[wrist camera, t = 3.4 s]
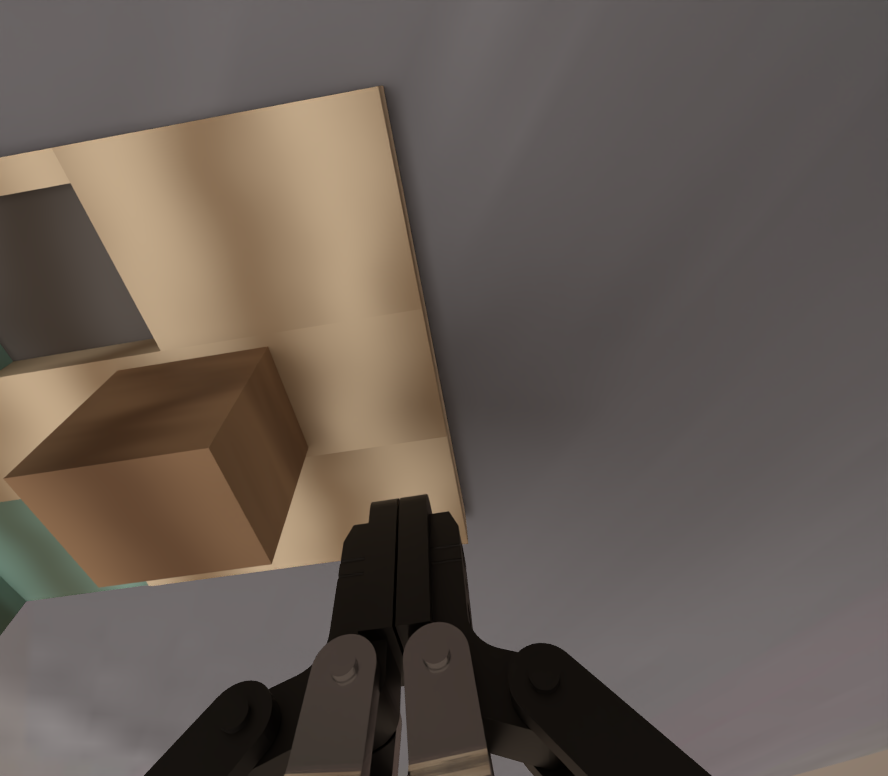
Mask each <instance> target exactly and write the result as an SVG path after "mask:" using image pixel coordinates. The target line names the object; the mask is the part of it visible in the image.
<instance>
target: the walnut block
mask: <svg viewBox="0 0 888 776" xmlns="http://www.w3.org/2000/svg"><path fill="white" fill-rule="evenodd" d="M307 451H308V445H307V443H306V440H305V438H304V435H303V433H302V430H301V428H300V425H299V423H298V420H297V418H296V415H295V413H294V410H293V408H292V405H291V403H290V400H289V398H288V395H287V393H286V390H285V388H284V385H283V383H282V380H281V378H280V375H279V373H278V370H277V368H276V365H275V363H274V360H273V358H272V355H271V352H270V350H269V347H268V346H267V347H261V348H255V349H249V350H242V351H236V352H230V353H224V354H218V355H211V356H205V357H199V358H193V359H186V360H180V361H174V362H168V363H161V364H155V365H149V366H143V367H137V368H130V369H124V370H118V371H116V372H115V373H114V374H113V375H112V376H111V377H110V378H109V379H108V380H107V381H106V382H105V383H104V384H103V385H102V386H101V387H99V388H98V389H97V390H96V391H95V392H94V393H93V394H92V395H91V396H90V397H89V398H88V399H87V400H86V401H85V402H84V403H83V404H81V405H80V406H79V407H78V408H77V409H76V410H75V411H74V412H73V413H72V414H71V415H70V416H69V417H68V418H67V419H66V420H65V421H64V422H62V423H61V424H60V425H59V426H58V427H57V428H56V429H55V430H54V431H53V432H52V433H51V434H50V435H49V436H48V437H47V438H46V439H45V440H43V441H42V442H41V443H40V444H39V445H38V446H37V447H36V448H35V449H34V450H33V451H32V452H31V453H30V454H29V455H28V456H27V457H26V458H24V459H23V460H22V461H21V462H20V463H19V464H18V465H17V466H16V467H15V468H14V469H13V470H12V471H11V472H10V473H9V474H8V475H7V476H5V477H4V478H3V479H4V480H5V481H6V483H7V484H8V485H9V486H10V487H11V488H12V489H13V491H14V492H15V493H16V494H17V495H18V496H19V497H20V498H21V500H22V501H23V502H24V503H25V504H26V505H27V506H28V508H29V509H30V510H31V511H32V512H33V513H34V514H35V516H36V517H37V518H38V519H39V520H40V521H41V522H42V524H43V525H44V526H45V527H46V528H47V529H48V530H49V532H50V533H51V534H52V535H53V536H54V537H55V538H56V539H57V541H58V542H59V543H60V544H61V545H62V546H63V547H64V549H65V550H66V551H67V552H68V553H69V554H70V555H71V557H72V558H73V559H74V560H75V561H76V562H77V563H78V565H79V566H80V567H81V568H82V569H83V570H84V571H85V573H86V574H87V575H88V576H89V577H90V578H91V579H92V580H93V582H94V583H95V584H96V585H97V586H98V587H99V588H100V587H107V586H115V585H122V584H129V583H137V582H144V581H152V580H159V579H167V578H174V577H181V576H189V575H196V574H204V573H211V572H219V571H226V570H233V569H241V568H248V567H256V566H263V565H270V564H272V562H273V559H274V556H275V552H276V549H277V546H278V543H279V540H280V537H281V533H282V530H283V527H284V524H285V521H286V518H287V514H288V511H289V508H290V505H291V502H292V498H293V495H294V492H295V489H296V486H297V483H298V479H299V476H300V473H301V470H302V467H303V464H304V460H305V457H306V454H307Z"/></svg>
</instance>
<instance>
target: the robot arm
mask: <svg viewBox="0 0 888 776" xmlns="http://www.w3.org/2000/svg"><path fill="white" fill-rule="evenodd" d="M338 576H339V579H338V581H337V588H336V594H335V601H334V607H333V614H332V620H331V627H330V634H329V638H328V641H327V644H326V645H325V646H324V647H323V648H322V649H321V650H320V651H319V653H318V654H317V656H316V658H315V660H314V662H313V664H312V665H311V666H310V667H309V668H308V669H306V670H305V671H304V672H302V673H300V674H299V675H297V676H295V677H293V678H291V679H289V680H287V681H285V682H282V683H280V684H278V685H276V686H274V687H272V688H270V689H268V688H267V687H266V686H265V685H264V684H262V683H260V682H257V681H244V682H240V683H238V684H235V685H233V686H231V687H230V688H228V689H227V690H225V691H224V692H223V693H222V694H221V695H220V696H218V697H217V698H216V700H215V701H214V702H213V703H212V704H211V705H210V706H209V707H208V708H207V709H206V710H205V711H204V712H203V713H202V714H201V715H200V717H199V718H198V719H197V720H196V721H195V722H194V723H193V724H192V725H191V726H190V727H189V728H188V729H187V730H186V731H185V732H184V734H183V735H182V736H181V737H180V738H179V739H178V740H177V741H176V742H175V743H174V744H173V745H172V746H171V747H170V748H169V749H168V751H167V752H166V753H165V754H164V755H163V756H162V757H161V758H160V759H159V760H158V761H157V762H156V763H155V764H154V765H153V766H152V768H151V769H150V770H149V771H148V772H147V773H146V774H145V775H144V776H398V767H399V755H400V743H401V731H402V718H401V714H400V695H401V686H404V688H405V706H406V724H407V742H408V760H409V770H408V775H407V776H494V771H493V765H492V759H491V754H495V755H498V756H502V757H505V758H509V759H512V760H516V761H519V762H523V763H524V764H525V766H526V767H527V768H528V770H529V771H530V772H531V773H532V774H533V775H534V776H711V775H710V774H709V773H708V772H707V771H705V770H704V769H703V768H702V767H701V766H700V765H698V764H697V763H696V762H695V761H694V760H693V759H691V758H690V757H689V756H688V755H687V754H685V753H684V752H683V751H682V750H681V749H680V748H678V747H677V746H676V745H675V744H674V743H673V742H671V741H670V740H669V739H668V738H667V737H665V736H664V735H663V734H662V733H661V732H660V731H658V730H657V729H656V728H655V727H654V726H652V725H651V724H650V723H649V722H648V721H647V720H645V719H644V718H643V717H642V716H641V715H640V714H638V713H637V712H636V711H635V710H634V709H632V708H631V707H630V706H629V705H628V704H627V703H625V702H624V701H623V700H622V699H621V698H620V697H618V696H617V695H616V694H615V693H614V692H612V691H611V690H610V689H609V688H608V687H607V686H605V685H604V684H603V683H602V682H601V681H599V680H598V679H597V678H596V677H595V676H594V675H592V674H591V673H590V672H589V671H588V670H587V669H585V668H584V667H583V666H582V665H581V664H579V663H578V662H577V661H576V660H575V659H574V658H572V657H571V656H570V655H569V654H568V653H566V652H565V651H564V650H562V649H561V648H559V647H557V646H554V645H551V644H546V643H536V644H531V645H529V646H526V647H525V648H523V649H521V650H520V651H519V652H514V651H510V650H505V649H500V648H497V647H493V646H491V645H489V644H487V643H485V642H484V641H482V640H481V639H480V638H479V637H478V636H477V635H476V634H475V632H474V631H473V627H472V618H471V608H470V599H469V590H468V582H467V572H466V563H465V557H464V552H463V547H462V541H461V536H460V531H459V526H458V524H457V523H456V521H455V520H454V518H453V517H452V515H451V513H450V512H449V511H447V512H440V513H433V514H432V510H431V505H430V501H429V497H428V494H423V495H416V496H409V497H402V498H400V499H399V498H396V499H390V500H383V501H376V502H372V503H371V505H370V513H369V522H368V523H365V524H358V525H353V527H352V529H351V530H350V532H349V534H348V535H347V537H346V539H345V540H344V542H343V548H342V555H341V564H340V568H339V575H338ZM490 753H491V754H490Z"/></svg>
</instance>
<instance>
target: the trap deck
mask: <svg viewBox="0 0 888 776" xmlns="http://www.w3.org/2000/svg"><path fill="white" fill-rule="evenodd" d="M267 346H268V347H269V350H270V352H271V355H272V358H273V360H274V363H275V365H276V368H277V370H278V373H279V375H280V378H281V380H282V383H283V385H284V388H285V390H286V393H287V395H288V398H289V400H290V403H291V405H292V408H293V410H294V413H295V415H296V418H297V420H298V423H299V425H300V428H301V430H302V433H303V435H304V438H305V440H306V443H307V445H308V451H307V454H306V457H305V460H304V464H303V467H302V470H301V473H300V476H299V479H298V483H297V486H296V489H295V492H294V495H293V498H292V502H291V505H290V508H289V511H288V514H287V518H286V521H285V524H284V527H283V530H282V533H281V537H280V540H279V543H278V546H277V549H276V552H275V556H274V559H273V562H272V564H270V565H263V566H256V567H248V568H241V569H233V570H226V571H219V572H211V573H204V574H196V575H189V576H181V577H174V578H167V579H159V580H152V581H144V582H137V583H129V584H122V585H115V586H107V587H100V588H99V587H98V586H97V585H96V584H95V583H94V582H93V580H92V579H91V578H90V577H89V576H88V575H87V574H86V573H85V571H84V570H83V569H82V568H81V567H80V566H79V565H78V563H77V562H76V561H75V560H74V559H73V558H72V557H71V555H70V554H69V553H68V552H67V551H66V550H65V549H64V547H63V546H62V545H61V544H60V543H59V542H58V541H57V539H56V538H55V537H54V536H53V535H52V534H51V533H50V532H49V530H48V529H47V528H46V527H45V526H44V525H43V524H42V522H41V521H40V520H39V519H38V518H37V517H36V516H35V514H34V513H33V512H32V511H31V510H30V509H29V508H28V506H27V505H26V504H25V503H24V502H23V501H22V500H21V498H20V497H19V496H18V495H17V494H16V493H15V492H14V491H13V489H12V488H11V487H10V486H9V485H8V484H7V483H6V481H5V480H4V479H3V478H4V477H5V476H7V475H8V474H9V473H10V472H11V471H12V470H13V469H14V468H15V467H16V466H17V465H18V464H19V463H20V462H21V461H22V460H23V459H24V458H26V457H27V456H28V455H29V454H30V453H31V452H32V451H33V450H34V449H35V448H36V447H37V446H38V445H39V444H40V443H41V442H42V441H43V440H45V439H46V438H47V437H48V436H49V435H50V434H51V433H52V432H53V431H54V430H55V429H56V428H57V427H58V426H59V425H60V424H61V423H62V422H64V421H65V420H66V419H67V418H68V417H69V416H70V415H71V414H72V413H73V412H74V411H75V410H76V409H77V408H78V407H79V406H80V405H81V404H83V403H84V402H85V401H86V400H87V399H88V398H89V397H90V396H91V395H92V394H93V393H94V392H95V391H96V390H97V389H98V388H99V387H101V386H102V385H103V384H104V383H105V382H106V381H107V380H108V379H109V378H110V377H111V376H112V375H113V374H114V373H115V372H116V371H118V370H124V369H130V368H137V367H143V366H149V365H155V364H161V363H168V362H174V361H180V360H186V359H193V358H199V357H205V356H211V355H218V354H224V353H230V352H236V351H242V350H249V349H255V348H261V347H267ZM423 494H428V497H429V501H430V505H431V510H432V514H433V513H440V512H447V511H449V512H450V513H451V515H452V517H453V518H454V520H455V521H456V523H457V524H458V526H459V531H460V536H461V541H462V544H468V536H467V526H466V515H465V509H464V504H463V499H462V494H461V488H460V483H459V478H458V473H457V468H456V462H455V457H454V452H453V447H452V442H451V436H450V431H449V426H448V421H447V416H446V410H445V405H444V400H443V395H442V390H441V384H440V379H439V374H438V369H437V364H436V358H435V353H434V348H433V343H432V338H431V332H430V327H429V322H428V317H427V312H426V306H425V301H424V296H423V291H422V286H421V280H420V275H419V270H418V265H417V260H416V254H415V249H414V244H413V239H412V234H411V228H410V223H409V218H408V213H407V208H406V202H405V197H404V192H403V187H402V182H401V176H400V171H399V166H398V161H397V156H396V150H395V145H394V140H393V135H392V130H391V124H390V119H389V114H388V109H387V104H386V98H385V93H384V88H383V86H377V87H372V88H366V89H361V90H356V91H350V92H345V93H340V94H335V95H329V96H324V97H319V98H313V99H308V100H303V101H297V102H292V103H287V104H282V105H276V106H271V107H266V108H260V109H255V110H250V111H245V112H239V113H234V114H229V115H223V116H218V117H213V118H207V119H202V120H197V121H192V122H186V123H181V124H176V125H170V126H165V127H160V128H154V129H149V130H144V131H139V132H133V133H128V134H123V135H117V136H112V137H107V138H102V139H96V140H91V141H86V142H80V143H75V144H70V145H64V146H59V147H54V148H49V149H43V150H38V151H33V152H27V153H22V154H17V155H12V156H6V157H1V158H0V635H1V634H2V633H3V631H4V630H5V629H6V627H7V626H8V625H9V623H10V622H11V621H12V619H13V618H14V617H15V615H16V614H17V613H18V612H19V610H20V609H21V608H22V606H23V605H24V604H25V602H26V601H32V600H39V599H47V598H54V597H62V596H69V595H76V594H84V593H91V592H99V591H106V590H114V589H121V588H129V587H136V586H143V585H149V586H155V585H162V584H170V583H177V582H185V581H192V580H200V579H207V578H215V577H222V576H230V575H237V574H244V573H252V572H259V571H267V570H274V569H282V568H289V567H297V566H304V565H312V564H319V563H326V562H334V561H341V555H342V548H343V542H344V540H345V539H346V537H347V535H348V534H349V532H350V530H351V529H352V527H353V525H358V524H365V523H368V522H369V513H370V505H371V503H372V502H376V501H383V500H390V499H396V498H399V499H400V498H402V497H409V496H416V495H423Z"/></svg>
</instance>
